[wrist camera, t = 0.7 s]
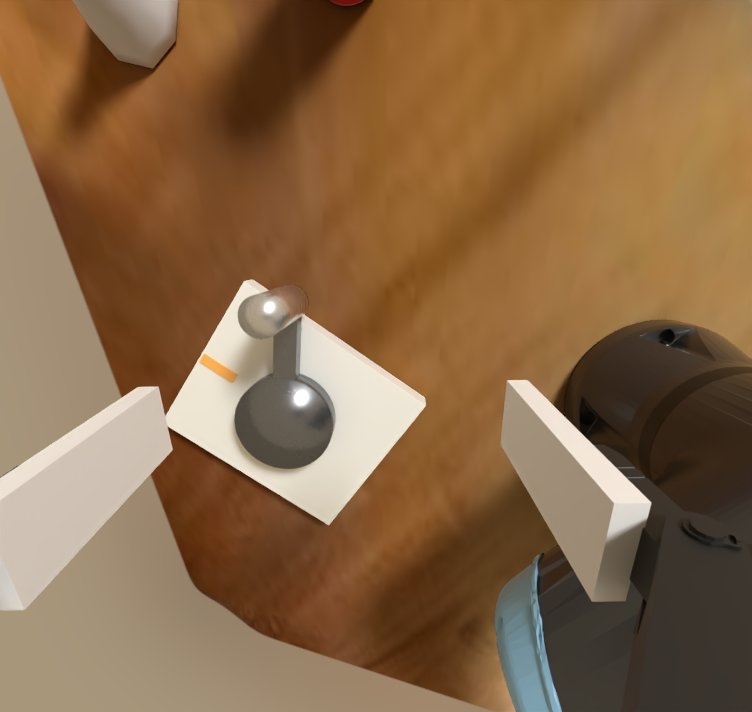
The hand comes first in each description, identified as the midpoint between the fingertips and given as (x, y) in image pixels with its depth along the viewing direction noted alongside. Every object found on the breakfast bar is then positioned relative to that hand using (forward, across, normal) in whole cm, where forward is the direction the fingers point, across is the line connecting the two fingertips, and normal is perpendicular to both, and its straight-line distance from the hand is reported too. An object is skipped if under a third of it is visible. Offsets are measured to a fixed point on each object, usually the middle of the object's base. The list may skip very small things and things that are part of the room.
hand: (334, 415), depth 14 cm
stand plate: (+22, +7, +10) cm, 25 cm away
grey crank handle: (+19, +6, +6) cm, 21 cm away
